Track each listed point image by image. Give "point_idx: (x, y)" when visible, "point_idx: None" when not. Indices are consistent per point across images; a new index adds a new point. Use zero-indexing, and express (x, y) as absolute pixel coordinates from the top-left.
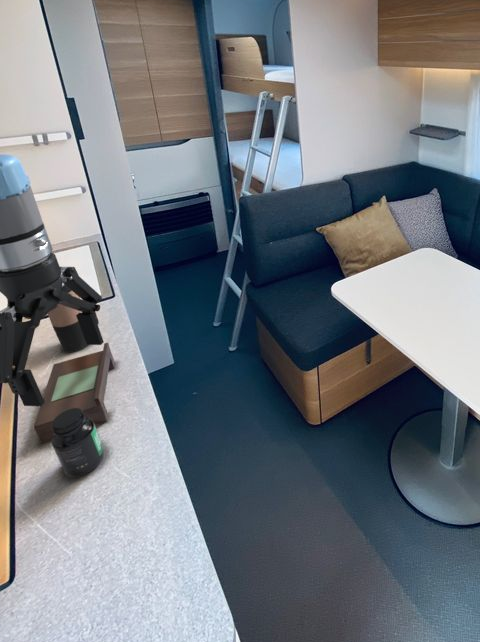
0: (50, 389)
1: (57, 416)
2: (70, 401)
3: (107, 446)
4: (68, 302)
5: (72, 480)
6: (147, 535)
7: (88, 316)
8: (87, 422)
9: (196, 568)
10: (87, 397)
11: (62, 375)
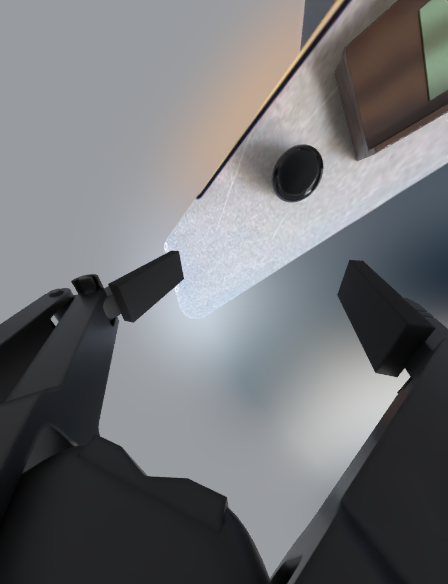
0: None
1: (303, 151)
2: (401, 72)
3: None
4: (311, 521)
5: None
6: (230, 273)
7: (378, 361)
8: (303, 193)
9: (218, 304)
10: (402, 107)
11: None
